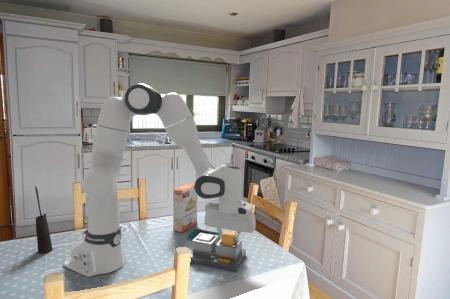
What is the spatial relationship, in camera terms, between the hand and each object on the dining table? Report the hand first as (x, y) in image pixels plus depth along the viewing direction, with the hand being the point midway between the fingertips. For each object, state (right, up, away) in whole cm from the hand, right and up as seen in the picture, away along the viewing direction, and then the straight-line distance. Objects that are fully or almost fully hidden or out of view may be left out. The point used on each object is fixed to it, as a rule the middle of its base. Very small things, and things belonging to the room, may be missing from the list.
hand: (229, 239), depth 122 cm
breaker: (-9, -3, +4) cm, 11 cm away
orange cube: (0, -2, 0) cm, 2 cm away
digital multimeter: (-10, -6, +21) cm, 25 cm away
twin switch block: (-5, -9, +3) cm, 10 cm away
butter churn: (-76, -7, +8) cm, 77 cm away
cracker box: (-21, -4, +34) cm, 40 cm away
